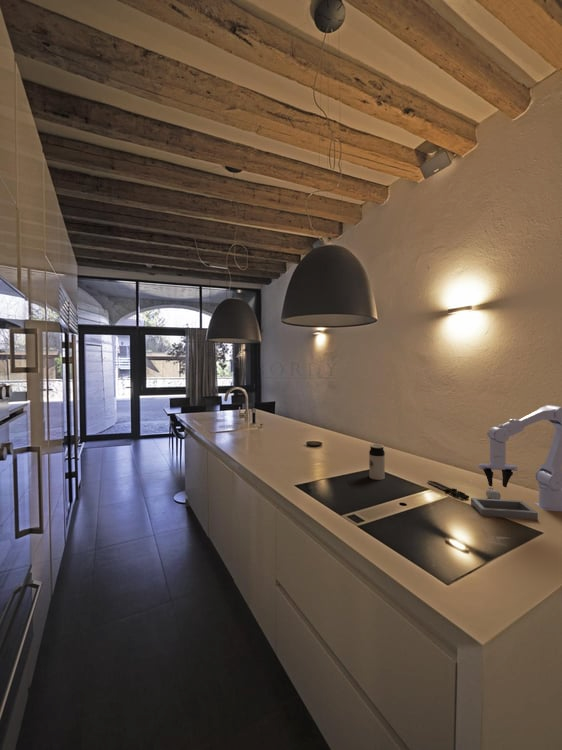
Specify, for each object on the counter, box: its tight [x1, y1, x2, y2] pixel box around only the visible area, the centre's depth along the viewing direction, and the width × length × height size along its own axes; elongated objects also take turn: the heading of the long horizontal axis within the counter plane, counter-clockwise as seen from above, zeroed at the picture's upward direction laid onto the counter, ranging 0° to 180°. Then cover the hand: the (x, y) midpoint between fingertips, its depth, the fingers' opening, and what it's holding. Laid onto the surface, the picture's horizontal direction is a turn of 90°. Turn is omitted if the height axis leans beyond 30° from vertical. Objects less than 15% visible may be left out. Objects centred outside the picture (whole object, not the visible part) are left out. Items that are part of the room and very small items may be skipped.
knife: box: [427, 480, 470, 500], centre depth 164 cm, size 25×6×1 cm, turn 10°
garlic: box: [485, 487, 502, 500], centre depth 153 cm, size 6×5×5 cm
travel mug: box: [368, 443, 386, 481], centre depth 182 cm, size 8×8×18 cm
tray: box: [470, 497, 539, 521], centre depth 139 cm, size 20×12×3 cm, turn 79°
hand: (497, 486), depth 146 cm, fingers open, 5 cm apart
